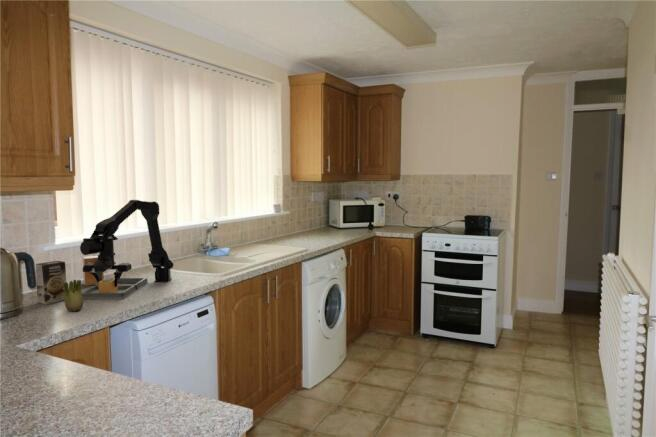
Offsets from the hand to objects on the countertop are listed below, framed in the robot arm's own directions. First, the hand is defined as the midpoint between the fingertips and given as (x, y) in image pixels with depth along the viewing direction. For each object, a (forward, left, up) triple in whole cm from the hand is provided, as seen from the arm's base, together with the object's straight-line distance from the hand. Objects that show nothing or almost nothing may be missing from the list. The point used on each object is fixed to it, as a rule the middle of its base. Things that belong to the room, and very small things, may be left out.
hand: (108, 287), depth 204 cm
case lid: (0, 0, -4) cm, 4 cm away
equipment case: (0, -15, -4) cm, 15 cm away
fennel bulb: (+3, +23, -4) cm, 23 cm away
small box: (+16, -21, -4) cm, 27 cm away
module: (0, 0, -2) cm, 2 cm away
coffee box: (+19, +9, -4) cm, 21 cm away
